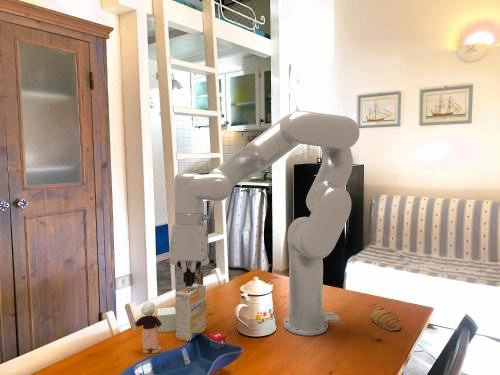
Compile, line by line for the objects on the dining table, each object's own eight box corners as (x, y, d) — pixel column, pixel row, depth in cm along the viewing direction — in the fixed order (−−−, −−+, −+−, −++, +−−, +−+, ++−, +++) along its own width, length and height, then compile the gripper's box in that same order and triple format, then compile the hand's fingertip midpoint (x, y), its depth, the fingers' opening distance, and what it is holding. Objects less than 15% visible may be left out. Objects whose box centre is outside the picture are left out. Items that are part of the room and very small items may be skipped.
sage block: (175, 323, 111) (175, 306, 110) (175, 330, 106) (175, 313, 106) (158, 324, 110) (157, 308, 109) (157, 332, 105) (157, 315, 104)
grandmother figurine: (165, 345, 98) (164, 298, 96) (164, 353, 94) (163, 304, 93) (135, 347, 96) (133, 300, 95) (132, 355, 93) (130, 306, 92)
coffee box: (186, 301, 127) (185, 255, 125) (204, 303, 125) (203, 256, 124) (175, 313, 118) (174, 263, 116) (194, 314, 116) (193, 264, 115)
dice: (215, 350, 95) (215, 339, 95) (209, 345, 98) (209, 334, 97) (225, 346, 97) (225, 335, 97) (219, 342, 99) (219, 331, 99)
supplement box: (190, 343, 99) (189, 295, 98) (175, 339, 101) (174, 292, 100) (207, 330, 106) (206, 285, 105) (192, 326, 108) (192, 282, 107)
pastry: (407, 331, 105) (407, 318, 105) (385, 333, 104) (385, 320, 103) (388, 317, 114) (389, 305, 114) (368, 319, 113) (368, 307, 113)
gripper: (218, 216, 104) (218, 281, 106) (165, 216, 105) (166, 280, 106) (214, 221, 97) (215, 290, 98) (157, 220, 97) (158, 289, 99)
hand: (189, 285), depth 102 cm, fingers closed
